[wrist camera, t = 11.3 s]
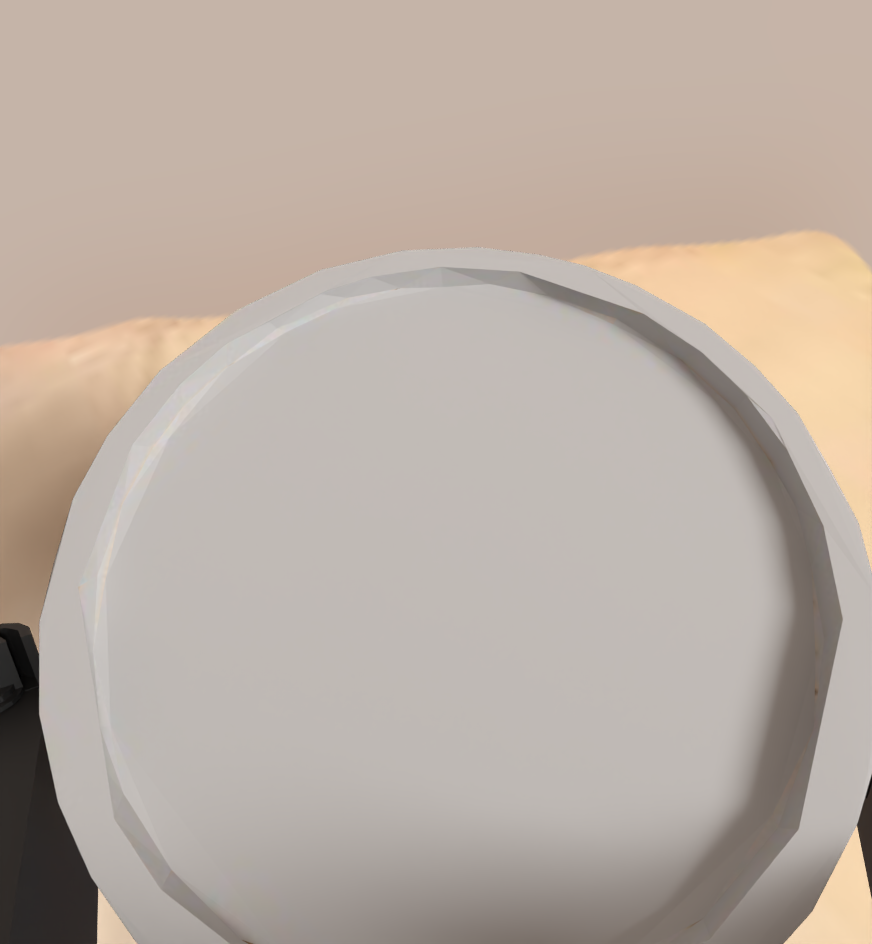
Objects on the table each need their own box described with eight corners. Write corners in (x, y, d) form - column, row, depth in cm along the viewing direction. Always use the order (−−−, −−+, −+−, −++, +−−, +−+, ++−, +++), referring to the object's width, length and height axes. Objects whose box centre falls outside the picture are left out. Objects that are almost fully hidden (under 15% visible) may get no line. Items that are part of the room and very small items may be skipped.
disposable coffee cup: (331, 512, 19) (160, 209, 9) (620, 537, 18) (836, 236, 8) (263, 844, 15) (-227, 1068, 4) (631, 896, 14) (1127, 1329, 4)
